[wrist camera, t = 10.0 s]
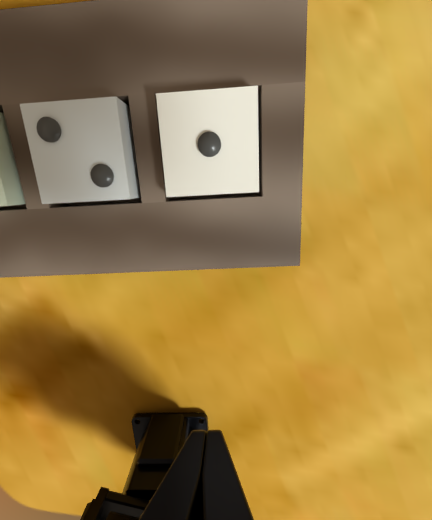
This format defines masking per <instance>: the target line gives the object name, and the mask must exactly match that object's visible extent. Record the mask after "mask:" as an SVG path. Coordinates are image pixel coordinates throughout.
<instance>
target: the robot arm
mask: <svg viewBox="0 0 432 520" xmlns="http://www.w3.org/2000/svg"><path fill="white" fill-rule="evenodd" d="M200 419H203V420H200ZM132 426H133V432H134V438H135V444H136V449H137V451H136V454H135V457H134V460H133V463H132V466H131V469H130V472H129V475H128V478H127V481H126V484H125V487H124V489H123V492H122V494H121V493H117V492H113V491H109V489H108V488H104V487H101V489H100V491H99V493H98V495H97V497H96V499H93V500H92V502H90V503H88V504H87V506H86V508H85V510H84V513H83V515H82V517H81V519H80V520H254V519H253V516H252V513H251V511H250V508H249V505H248V502H247V500H246V497H245V494H244V491H243V489H242V486H241V483H240V480H239V478H238V475H237V472H236V469H235V467H234V464H233V461H232V458H231V455H230V453H229V450H228V447H227V444H226V442H225V439H224V436H223V433H222V431H221V430H208V418H207V415H206V414H204V413H138V414H135V415H134V416H133V419H132Z"/></svg>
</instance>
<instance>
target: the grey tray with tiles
mask: <svg viewBox="0 0 432 520" xmlns="http://www.w3.org/2000/svg"><path fill="white" fill-rule="evenodd" d="M306 34H307V0H94V1H84V2H73V3H63V4H53V5H43V6H33V7H22V8H12V9H2V10H0V112H1V113H4V116H5V120H6V124H7V129H8V133H9V137H10V141H11V145H12V149H13V154H14V158H15V162H16V166H17V170H18V174H19V178H20V183H21V187H22V191H23V195H24V199H25V203H26V204H22V205H13V206H0V277H25V276H50V275H75V274H100V273H125V272H150V271H175V270H200V269H225V268H250V267H275V266H300V243H301V208H302V173H303V138H304V104H305V69H306ZM246 86H258V138H259V192H252V193H234V194H216V195H198V196H180V197H166V188H165V179H164V169H163V159H162V149H161V140H160V130H159V120H158V110H157V100H156V93H169V92H181V91H194V90H207V89H220V88H233V87H246ZM115 96H116V97H117V98H119V99H120V100H121V101H123V102H124V103H125V104H127V105H128V106H129V107H130V113H131V121H132V129H133V137H134V145H135V153H136V161H137V169H138V177H139V184H140V192H141V197H140V198H134V199H126V200H108V201H90V202H72V203H54V204H42V202H41V197H40V193H39V188H38V184H37V179H36V175H35V170H34V166H33V162H32V157H31V153H30V148H29V144H28V139H27V135H26V130H25V126H24V121H23V117H22V113H21V108H20V104H24V103H37V102H50V101H63V100H76V99H89V98H102V97H115Z"/></svg>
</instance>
